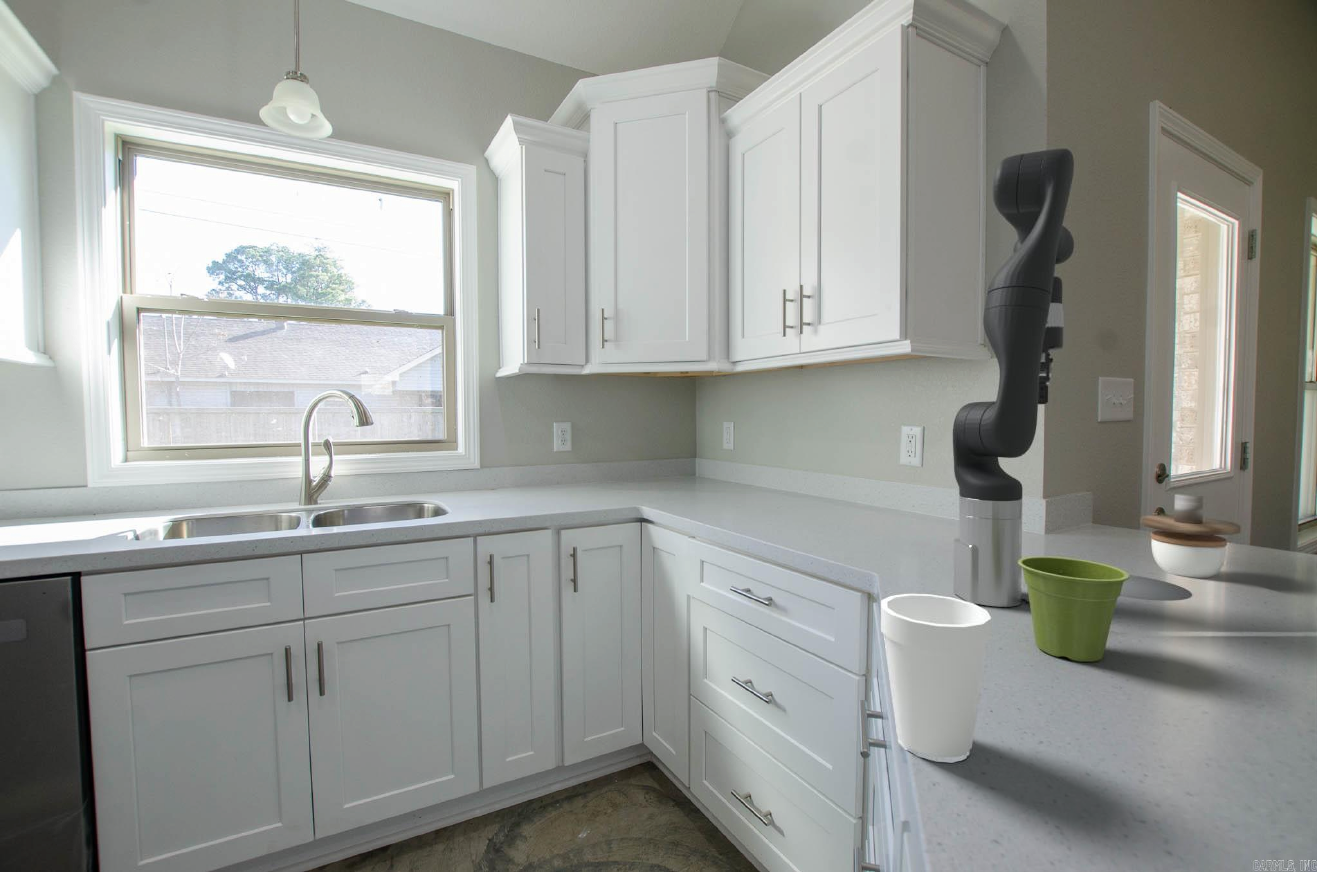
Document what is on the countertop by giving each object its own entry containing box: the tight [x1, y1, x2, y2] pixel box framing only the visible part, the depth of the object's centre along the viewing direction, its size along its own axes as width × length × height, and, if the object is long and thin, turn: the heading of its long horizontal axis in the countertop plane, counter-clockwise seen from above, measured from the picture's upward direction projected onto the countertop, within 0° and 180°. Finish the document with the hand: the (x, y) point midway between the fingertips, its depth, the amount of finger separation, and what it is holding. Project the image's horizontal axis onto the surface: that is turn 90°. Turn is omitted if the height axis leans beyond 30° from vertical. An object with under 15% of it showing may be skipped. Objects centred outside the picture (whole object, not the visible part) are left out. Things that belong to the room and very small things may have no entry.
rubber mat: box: [1119, 574, 1193, 602], centre depth 103 cm, size 17×17×1 cm
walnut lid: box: [1139, 493, 1242, 536], centre depth 110 cm, size 14×14×6 cm
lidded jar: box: [1150, 530, 1228, 579], centre depth 111 cm, size 11×11×9 cm
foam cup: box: [880, 593, 992, 757], centre depth 55 cm, size 10×9×13 cm
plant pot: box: [1018, 556, 1130, 663], centre depth 76 cm, size 12×12×11 cm
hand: (1041, 404), depth 124 cm, fingers open, 8 cm apart
